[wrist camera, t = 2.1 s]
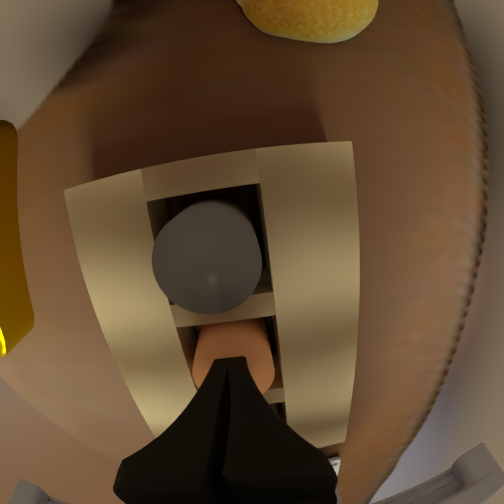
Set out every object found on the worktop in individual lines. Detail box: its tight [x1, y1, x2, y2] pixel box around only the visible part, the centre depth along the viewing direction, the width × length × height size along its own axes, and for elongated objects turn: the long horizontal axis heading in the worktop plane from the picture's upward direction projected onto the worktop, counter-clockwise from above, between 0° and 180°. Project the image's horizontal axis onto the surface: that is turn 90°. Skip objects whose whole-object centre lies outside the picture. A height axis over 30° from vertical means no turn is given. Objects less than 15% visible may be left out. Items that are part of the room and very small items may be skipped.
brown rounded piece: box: [192, 317, 275, 394], centre depth 13 cm, size 4×4×4 cm
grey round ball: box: [152, 198, 262, 315], centre depth 11 cm, size 4×4×4 cm
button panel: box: [64, 141, 360, 448], centre depth 14 cm, size 18×12×3 cm, turn 8°
